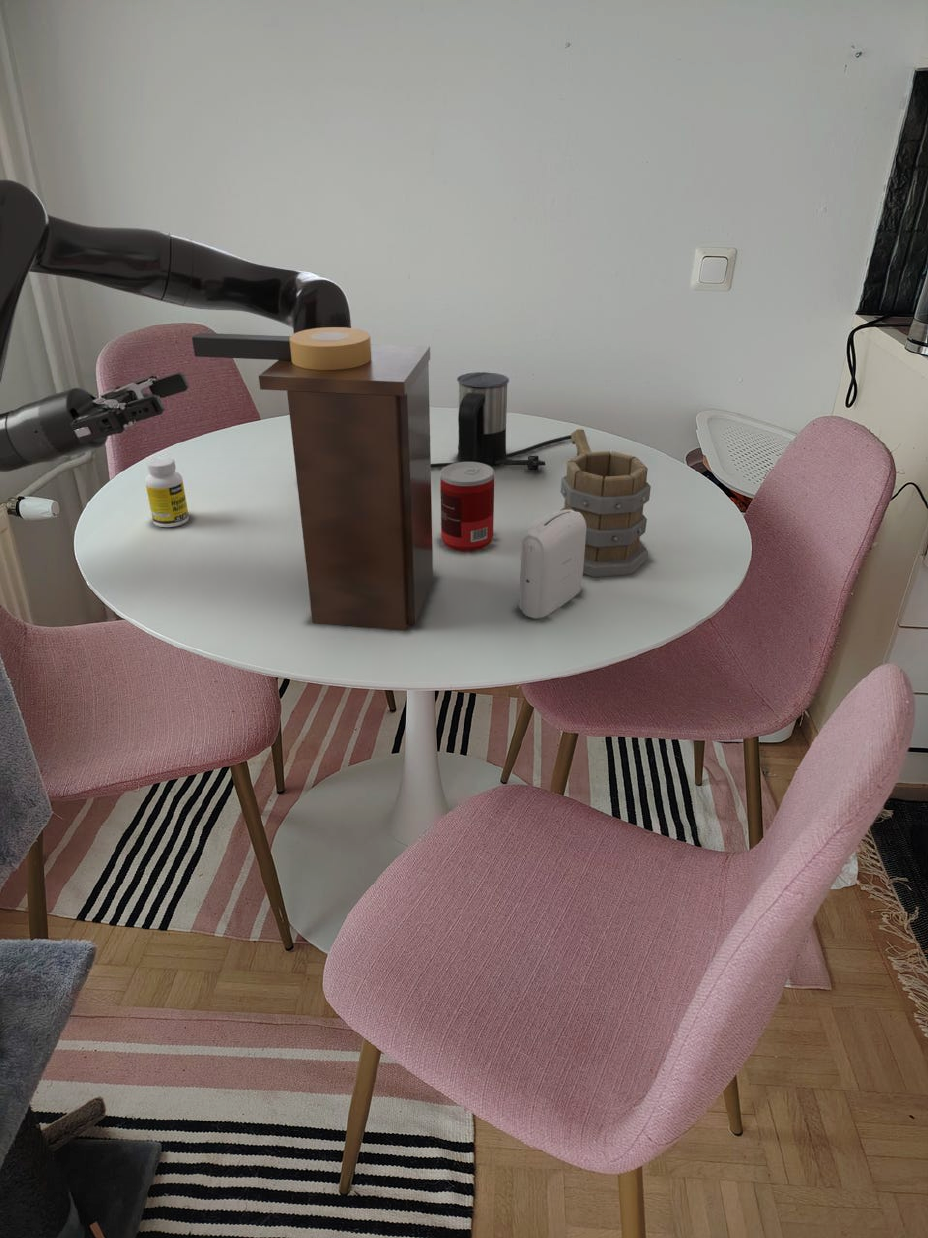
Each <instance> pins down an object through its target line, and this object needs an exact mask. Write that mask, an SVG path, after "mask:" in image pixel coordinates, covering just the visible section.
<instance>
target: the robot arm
mask: <svg viewBox="0 0 928 1238" xmlns="http://www.w3.org/2000/svg"><path fill="white" fill-rule="evenodd" d="M29 273H38V274H43V275H44V274H45V275H51V276H59V277H67V278H71V279H77V280H82V281H85V282H86V281H87V282H90V283H92V284H93V283H94V284H97V285H101V286H103V287H107V288H110V289H114V290H117V291H120V292H124V293H128V294H133V295H137V296H140V297H144V298H147V299H151V300H155V301H158V302H162V303H166V304H171V305H176V306H180V307H185V308H189V309H196V310H206V311H235V312H244V313H249V314H253V315H257V316H260V317H264V318H266V319H269V320H271V321H275V322H278V323H280V324H283V325H286V326H288V327H289V328H292V330H293V331H292V333H293V334H294V333H297V332H300V331H303V330H308V329H314V328H325V327H345V328H352V316H351V315H352V314H351V307H350V302H349V300H348V296H347V295H346V292H345V291H344V289H342V287H341V286H340V285H339V284H337V283H336V282H335V281H333V280H331V279H329V278H328V277H325V276H323V275H322V274H319V273H316V272H312V271H306V270H305V271H304V270H298V269H297V270H296V269H289V268H284V267H283V268H282V267H277V266H271V265H267V264H266V265H265V264H261V263H257V262H253V261H250V260H248V259H244V258H243V257H239V256H237V255H235V254H233V253H230V252H228V251H225V250H223V249H220V248H218V247H215V246H212V245H209V244H206V243H202V242H200V241H197V240H193V239H191V238H187V237H184V236H179V235H176V234H172V233H167V232H165V231H161V230H155V229H150V228H149V229H148V228H138V227H108V226H107V227H106V226H93V225H86V224H81V223H78V222H73V221H70V220H68V219H67V220H66V219H64V218H61V217H57V216H54V215H51V214H48V212H47V210H46V208H45V205H44V204H43V202H42V200H41V199H40V197H39V196H38V195H37V194H36V193H35V192H34V191H33V190H32V189H30V188H29V187H28V186H26V185H25V184H23V183H21V182H19V181H15V180H13V179H8V178H7V179H6V178H0V386H1V385H2V380H3V376H4V372H5V369H6V368H5V367H6V363H7V358H8V354H9V348H10V344H11V343H10V342H11V336H12V331H13V326H14V321H15V317H16V313H17V307H18V304H19V301H20V297H21V294H22V291H23V288H24V285H25V282H26V280H27V277H28V275H29ZM189 387H190V385H189V383H188V381H187V379H186V377H185V375H184V374H183V373H182V372H176V373H173V374H170V375H167V376H163V377H161V378H158V377H157V375H156V374H155V375H149V376H148V377H145V378H142V379H139V380H135V381H132V382H130V383H126V384H123V385H117V386H116V387H115V388H114V389H109V390H107V391H105V392H103V393H101V394H100V395H99V396H100V397H99V398H97V397H96V396H94V395H92V393H90V392H89V391H88V390H86V389H84V388H81V387H73V388H70V389H67V390H64V391H60V392H57V393H54V394H50V395H48V396H44V397H41V398H39V399H38V398H37V399H35V400H32V401H28V402H26V403H23V405H20V406H18V407H17V408H14V409H10V410H8V411H4V412H2V413H0V473H10V472H14V471H19V470H22V469H27V468H29V467H33V466H35V465H39V464H44V463H51V462H56V461H59V460H63V459H66V458H70V457H73V456H77V455H80V454H84V453H86V452H90V451H93V450H97V449H101V448H102V447H103V446H104V445H105V444H106V443H107V441H108V437H109V436H113V435H116V434H122V433H123V432H124V431H125V430H126V428H129V427H133V426H134V425H135V424H136V423H137V422H140V421H144V420H146V419H147V420H148V419H150V418H153V417H157V416H159V415H162V414H163V413H164V412H165V407H164V404H163V403H162V400H163V398H167V397H170V396H173V395H177V394H181V393H184V392H186V391H187V390H188V389H189ZM146 388H148V389H149V390H150V393H147V392H146V390H145V389H146ZM568 440H571V434H570V435H565V436H560V437H556V438H552V439H549V440H546V441H542V442H540V443H537V444H534V445H532V446H528V447H526V448H522V449H519V450H515V451H513V452H509V453H506V457H507V459H508V458H512V457H515V456H516V457H517V456H519V455H523V454H526V453H528V452H531V451H534V450H536V449H539V448H542V447H545V446H548V445H552V444H556V443H559V442H564V441H568ZM454 463H458V461H456V462H438V463H437V462H436V463H431V469H435V468H444V467H446V466H448V465H450V464H454Z"/></svg>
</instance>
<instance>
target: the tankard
mask: <svg viewBox="0 0 928 1238" xmlns="http://www.w3.org/2000/svg"><path fill="white" fill-rule="evenodd" d="M570 435H571V439H570V440H571V444H572V445H575V448H576V456H575V457H573V458H571V459H570V460H569V461H567V462H566V475H564V476H562V478H561V481H560V494H561V495H562V497H563V498H564V506H563V508H561V509H560V510H559V511H561V510H573V511H575V512H580V513H581V514H582V516H583V517H584V519H585V522H586V540H585V554H584V566H583V575H586V576H589V577H592V578H600V577H601V578H603V577H613V576H614V577H615V576H628V575H631V574H633V572H635V571H636V570H637V569H638V568H639V567H640V566H641V565H643V564H644V563H645V562H646V561H647V560H648V556H649V550H648V549H647V548H646V546H645V545H644V544H643V542H642V541H641V540H640V539H641V537H642V536H643V535H644V534H645V533H646V529H647V523H648V522H647V521H648V518H647V517H646V516H645V514H643V513H644V506H645V504H647V503H648V502H649V501H650V497H651V489H652V486H651V485H650V483H649V482H648V481H647V480H648V471H649V469H648V467H647V466H646V465H645V464H644V463H643V461H641V460H640V458H639V457H637V456H635V455H630V454H626V453H621V452H617V451H611V452H610V450H603V451H591V448H590V445H589V443H588V439H587V437H586V436H587V435H586V432H585V430H584V429H582V428H581V429H576V430H574V431H573V432H571V434H570Z"/></svg>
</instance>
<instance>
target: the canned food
mask: <svg viewBox="0 0 928 1238" xmlns="http://www.w3.org/2000/svg"><path fill="white" fill-rule="evenodd" d="M457 462H458V461H457ZM453 463H454V464H450V465H448V466H446V467H442V469H441V470H440V474H439V475H440V477H439V483H440V484H439V485H440V487H439V489H440V491H439V493H440V533H441V534H440V536H441V537H440V538H441V541H442V543H443V545H444V546H445V547H447V548H448V549H450V550H453V551H457V552H465V553H466V552H476V551H480V550H483V549H485V548H487V547H488V546H490V544H491V543H492V540H493V538H494V519H495V517H494V516H495V515H494V513H495V470H494V467H490V466H488V465H486V464H483V463H478V462H458V463H455V462H453Z"/></svg>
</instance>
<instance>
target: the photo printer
mask: <svg viewBox="0 0 928 1238" xmlns="http://www.w3.org/2000/svg"><path fill="white" fill-rule="evenodd" d="M560 510H561V509H560ZM560 510H557V511H555V512H553V513H550V514H548V515H546V516H545V517H543V518H542V519H541V520H539V521H538V522H537V523H536V524H534V525H533V526H532V527H531V528H530V529H529V530H528V532H526V534H525V535H524V537H523V539H522V541H521V545H520V571H519V573H520V575H519V576H520V577H519V599H518V600H519V602H518V605H519V606H518V607H519V609H520V610H521V613H522V614H523V615H525V616H526V617H529V618H531V619H537V620H539V619H543V618H545V617H547V616H548V615H550V614H551V613H553V612H555V611H556V610H558V609H559V608H561V607H563V606H564V605H565V604H566V603H568V602H569V601H571V600H572V599H573V598H574V597H576V596H577V595H578V594H579V593H580V592H581V590H582V587H583V579H584V578H583V577H584V574H583V566H584V554H585V540H586V522H585V519H584V517H583V516H582V514H581V513H580V512H575V511H573V510H561V511H560Z"/></svg>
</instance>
